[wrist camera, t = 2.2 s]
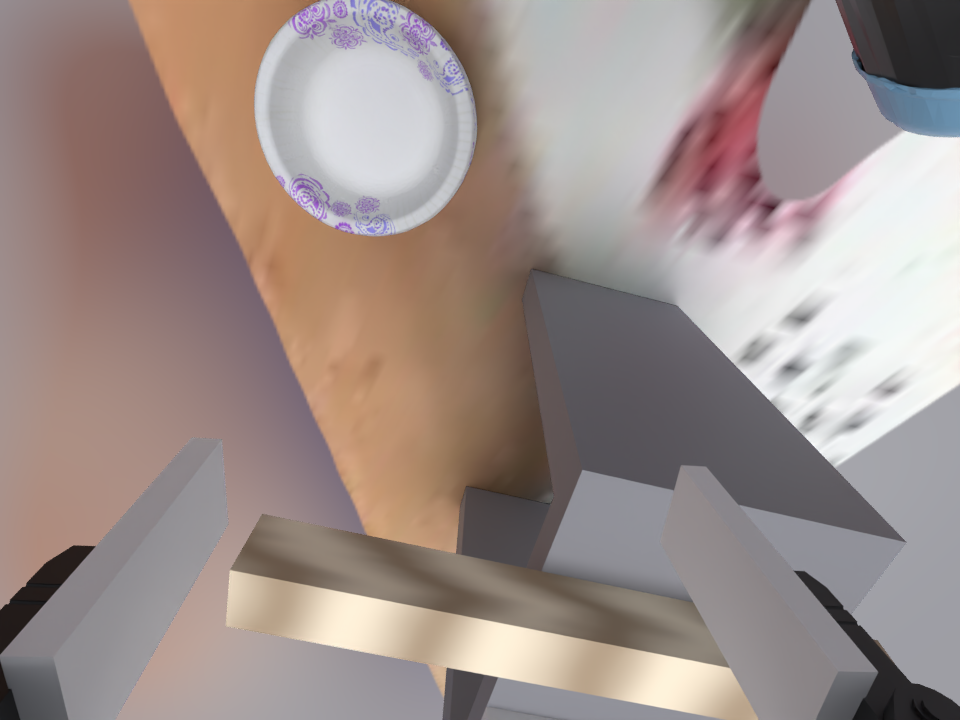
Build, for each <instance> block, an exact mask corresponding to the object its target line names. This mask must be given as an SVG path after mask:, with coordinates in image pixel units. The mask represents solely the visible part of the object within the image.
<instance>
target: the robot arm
mask: <svg viewBox="0 0 960 720" xmlns="http://www.w3.org/2000/svg"><path fill="white" fill-rule="evenodd" d="M836 3H837V5H838V8H839V11H840V13H841V16H842V18H843V21H844V24H845V27H846V29H847V32H848V35H849V37H850V40H851V43H852V45H853V48H854V49H853V52H852V59H853V62H854V65H855V68H856V70H857V71H858V72H859V74H861V75H862V77H863V78H864V79H865V80H866V81H867V83H868V86H869V88H870V90H871V92H872V94H873V97H874V99H875V101H876V104H877V106H878V108H879V110H880V112H881V113H882V115H883V116H884V117H885V118H886V119H887V120H889V121H891V122H893V123H894V124H895V125H896V126H897V127H901V128H902V129H903V130H905V131H908V132H911V133H915V134H920V135H926V136H934V137H960V0H836ZM227 526H228V512H227V499H226V486H225V473H224V461H223V447H222V439H207V438H191V439H190V440H189V442H188V443H187V444H186V445H185V446H184V447H183V448H182V449H181V451H180V452H179V453H178V454H177V455H176V456H175V457H174V459H173V460H172V461H171V462H170V463H169V464H168V465H167V467H166V468H165V469H164V470H163V471H162V472H161V473H160V475H159V476H158V477H157V478H156V479H155V480H154V481H153V482H152V484H151V485H150V486H149V487H148V488H147V489H146V490H145V492H143V494H142V495H141V496H140V497H139V498H138V499H137V500H136V502H135V503H134V504H133V505H132V506H131V507H130V508H129V509H128V511H127V512H126V513H125V514H124V515H123V516H122V517H121V519H120V520H119V521H118V522H117V523H116V524H115V525H114V526H113V528H112V529H111V530H110V531H109V532H108V533H107V534H106V536H105V537H104V538H103V539H102V540H101V541H100V542H99V544H98V545H97V546H72V547H70V548H69V549H67V550H66V551H64V552H62V553H61V554H59V555H58V556H56V557H54V558H53V559H51V560H50V561H48V562H46V564H44V565H43V567H42V568H41V569H40V570H39V571H38V572H37V573H36V574H35V575H34V576H33V577H32V578H31V579H30V580H29V581H28V582H27V584H26V587H22V588H21V589H20V590H19V591H18V592H17V593H16V594H15V595H14V596H13V597H12V598H11V599H10V603H9V604H6V605H5V606H4V607H3V608H2V609H1V610H0V720H115V719H116V717H117V716H118V714H119V712H120V711H121V709H122V707H123V705H124V704H125V702H126V700H127V698H128V697H129V695H130V693H131V692H132V689H133V688H134V686H135V685H136V683H137V681H138V679H139V678H140V676H141V674H142V672H143V671H144V669H145V667H146V666H147V664H148V662H149V660H150V659H151V657H152V655H153V654H154V652H155V650H156V648H157V647H158V645H159V643H160V641H161V640H162V638H163V636H164V635H165V633H166V631H167V629H168V628H169V626H170V624H171V622H172V621H173V619H174V617H175V615H176V614H177V612H178V610H179V609H180V607H181V605H182V603H183V602H184V600H185V598H186V597H187V595H188V593H189V591H190V590H191V588H192V586H193V584H194V583H195V581H196V579H197V578H198V576H199V574H200V572H201V571H202V569H203V567H204V565H205V563H206V562H207V560H208V559H209V557H210V555H211V553H212V552H213V550H214V548H215V546H216V545H217V543H218V541H219V540H220V538H221V536H222V534H223V533H224V531H225V529H226V527H227ZM660 543H661V545H662V547H663V548H664V550H665V552H666V554H667V556H668V557H669V559H670V561H671V563H672V565H673V566H674V568H675V570H676V572H677V574H678V575H679V577H680V579H681V581H682V582H683V584H684V586H685V588H686V590H687V591H688V593H689V595H690V597H691V599H692V600H693V602H694V604H695V606H696V608H697V609H698V611H699V613H700V615H701V617H702V618H703V620H704V622H705V624H706V626H707V627H708V629H709V631H710V633H711V635H712V636H713V638H714V640H715V642H716V643H717V645H718V647H719V649H720V651H721V652H722V654H723V656H724V658H725V660H726V661H727V663H728V665H729V667H730V669H731V670H732V672H733V674H734V676H735V678H736V679H737V681H738V683H739V685H740V687H741V688H742V690H743V692H744V694H745V696H746V697H747V699H748V701H749V703H750V704H751V706H752V708H753V710H754V712H755V713H756V715H757V717H758V719H759V720H960V706H958V705H957V704H956V703H955V702H953V701H952V700H951V699H949V698H947V697H946V696H944V695H942V694H941V693H939V692H937V691H935V690H933V689H930V688H928V687H925V686H922V685H920V684H913V683H911V682H910V681H909V680H908V679H907V678H906V676H905V675H904V674H903V673H902V672H901V671H900V670H899V669H898V668H897V666H896V665H895V664H894V663H893V662H892V661H891V659H890V658H889V657H888V656H887V655H886V654H885V653H884V652H883V650H882V649H881V648H880V647H879V646H878V645H877V644H876V642H875V641H874V640H873V639H872V638H871V637H870V636H869V635H868V634H867V632H866V631H865V630H864V629H863V628H862V627H861V626H858V625H857V621H856V620H855V619H854V618H853V617H852V615H851V614H850V613H849V612H848V611H847V610H844V608H843V607H844V606H843V605H842V604H841V603H840V602H839V601H838V599H837V598H836V597H835V596H834V595H833V594H832V593H831V592H830V590H829V589H828V588H827V587H826V586H824V585H823V584H821V583H820V582H819V581H817V580H816V579H815V578H813V577H812V576H811V575H809V574H808V573H807V572H805V571H793V570H792V568H791V567H790V566H789V565H788V564H787V562H786V561H785V560H784V559H783V558H782V556H781V555H780V554H779V553H778V552H777V551H776V549H775V548H774V547H773V546H772V545H771V543H770V542H769V541H768V540H767V539H766V537H765V536H764V535H763V534H762V533H761V531H760V530H759V529H758V528H757V527H756V525H755V524H754V523H753V522H752V521H751V520H750V518H749V517H748V516H747V515H746V514H745V512H744V511H743V510H742V509H741V508H740V506H739V505H738V504H737V503H736V502H735V500H734V499H733V498H732V497H731V496H730V494H729V493H728V492H727V491H726V490H725V489H724V487H723V486H722V485H721V484H720V483H719V481H718V480H717V479H716V478H715V477H714V475H713V474H712V473H711V472H710V471H709V469H708V468H707V467H705V466H687V465H681V467H680V471H679V474H678V478H677V482H676V485H675V489H674V493H673V496H672V500H671V504H670V507H669V511H668V515H667V518H666V522H665V525H664V529H663V533H662V536H661V540H660Z"/></svg>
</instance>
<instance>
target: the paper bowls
mask: <svg viewBox="0 0 960 720" xmlns="http://www.w3.org/2000/svg"><path fill="white" fill-rule="evenodd" d="M254 110H255V121H256V128H257V133H258V138H259V141H260V144H261V147H262V150H263V153H264V155H265V157H266V160H267V162H268V164H269V166H270V168H271V170H272V171H273V174H274V175H275V177H276V179H277V180H278V181H279V182H280V184H281V186H282V187H283V188H284V189H285V191H286V192H287V193H288V194H289V196H290V197H291V198H292V199H293V200H294V201H295V202H296V203H297V204H298V205H300V206H301V207H302V208H303V209H304V210H306V211H307V212H308V213H309V214H311V215H312V216H313V217H315V218H316V219H318V220H320V221H321V222H323V223H325V224H327V225H329V226H331V227H333V228H335V229H338V230H341V231H344V232H348V233H351V234H357V235H364V236H387V235H394V234H399V233H403V232H406V231H409V230H411V229H413V228H416V227H417V226H419V225H421V224H423V223H425V222H427V221H428V220H430V219H431V218H433V217H434V216H435V215H436V214H438V213H439V212H440V211H441V210H442V209H443V208H444V207H445V206H446V204H447V203H448V202H449V201H450V200H451V198H452V197H453V196H454V194H455V193H456V192H457V190H458V189H459V187H460V185H461V184H462V182H463V180H464V178H465V176H466V173H467V171H468V169H469V167H470V164H471V161H472V158H473V154H474V150H475V144H476V137H477V115H476V107H475V101H474V97H473V93H472V89H471V85H470V83H469V80H468V77H467V75H466V72H465V70H464V68H463V66H462V64H461V63H460V61H459V59H458V58H457V56H456V54H455V53H454V52H453V50H452V49H451V47H450V46H449V45H448V43H447V42H446V40H445V39H444V38H443V37H442V36H441V35H440V34H439V33H438V32H437V31H436V30H435V28H434V27H432V26H431V25H430V24H429V23H428V22H427V21H425V20H424V19H423V18H421V17H420V16H418V15H417V14H415V13H414V12H412V11H411V10H409V9H408V8H406V7H404V6H402V5H400V4H398V3H395V2H393V1H390V0H320V1H318V2H316V3H314V4H312V5H310V6H308V7H306V8H304V9H303V10H301V11H299V12H298V13H297V14H295V15H294V16H292V17H291V18H290V19H289V20H288V21H287V22H286V23H285V24H284V25H283V26H282V27H281V28H280V29H279V31H278V32H277V33H276V34H275V36H274V37H273V39H272V40H271V42H270V44H269V46H268V48H267V50H266V52H265V54H264V56H263V59H262V62H261V64H260V68H259V72H258V75H257V80H256V86H255V97H254Z"/></svg>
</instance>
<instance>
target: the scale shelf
mask: <svg viewBox="0 0 960 720" xmlns="http://www.w3.org/2000/svg"><path fill="white" fill-rule="evenodd" d="M522 303H523V309H524V315H525V321H526V327H527V333H528V340H529V346H530V352H531V358H532V364H533V371H534V377H535V383H536V389H537V395H538V401H539V408H540V414H541V420H542V426H543V432H544V438H545V445H546V451H547V457H548V463H549V469H550V476H551V482H552V488H553V494H554V497H553V500H552V502H551V505H550V504H546V503H541V502H536V501H532V500H527V499H523V498H518V497H513V496H509V495H504V494H500V493H495V492H490V491H486V490H481V489H476V488H472V487H467V486H466V489H465V492H464V495H463V499H462V502H461V506H460V513H459V525H458V537H457V549H456V554H460V555H465V556H469V557H474V558H479V559H484V560H489V561H494V562H499V563H503V564H508V565H513V566H518V567H523V568H528V569H533V570H537V571H542V572H547V573H552V574H557V575H562V576H567V577H571V578H576V579H581V580H586V581H591V582H596V583H601V584H605V585H610V586H615V587H620V588H625V589H630V590H635V591H640V592H644V593H649V594H654V595H659V596H664V597H669V598H674V599H678V600H683V601H688V602H693V600H692V599H691V597H690V595H689V593H688V591H687V590H686V588H685V586H684V584H683V582H682V581H681V579H680V577H679V575H678V574H677V572H676V570H675V568H674V566H673V565H672V563H671V561H670V559H669V557H668V556H667V554H666V552H665V550H664V548H663V547H662V545H661V543H660V540H661V536H662V533H663V529H664V525H665V522H666V518H667V515H668V511H669V507H670V504H671V500H672V496H673V493H674V489H675V485H676V482H677V478H678V474H679V471H680V467H681V465H687V466H705V467H707V468H708V469H709V471H710V472H711V473H712V474H713V475H714V477H715V478H716V479H717V480H718V481H719V483H720V484H721V485H722V486H723V487H724V489H725V490H726V491H727V492H728V493H729V494H730V496H731V497H732V498H733V499H734V500H735V502H736V503H737V504H738V505H739V506H740V508H741V509H742V510H743V511H744V512H745V514H746V515H747V516H748V517H749V518H750V520H751V521H752V522H753V523H754V524H755V525H756V527H757V528H758V529H759V530H760V531H761V533H762V534H763V535H764V536H765V537H766V539H767V540H768V541H769V542H770V543H771V545H772V546H773V547H774V548H775V549H776V551H777V552H778V553H779V554H780V555H781V556H782V558H783V559H784V560H785V561H786V562H787V564H788V565H789V566H790V567H791V568H792V570H793V571H805V572H807V573H808V574H809V575H811V576H812V577H813V578H815V579H816V580H817V581H819V582H820V583H821V584H823V585H824V586H826V587H827V588H828V589H829V590H830V592H831V593H832V594H833V595H834V596H835V597H836V598H837V599H838V601H839V602H840V603H841V604H842V605H843V606H844V607H843V608H844V610H847V611H848V612H849V613H850V614H852V613H853V611H854V610H855V609H856V608H857V606H858V605H859V604H860V603H861V601H862V600H863V599H864V597H865V596H866V595H867V593H868V592H869V591H870V589H871V588H872V587H873V586H874V584H875V583H876V582H877V580H878V579H879V578H880V577H881V575H882V574H883V573H884V571H885V570H886V569H887V567H888V566H889V565H890V563H891V562H892V561H893V560H894V558H895V557H896V556H897V555H898V553H899V552H900V551H901V549H902V548H903V547H904V545H905V544H906V541H905V540H904V539H903V538H902V537H901V536H900V535H899V534H898V533H897V532H896V531H895V530H894V529H893V528H892V527H891V526H890V525H889V524H888V523H887V522H886V521H885V520H884V519H883V518H882V517H881V515H879V513H878V512H877V511H876V510H875V509H874V508H873V507H872V506H871V505H870V504H869V503H868V502H867V501H866V500H865V499H864V498H863V497H862V496H861V495H860V494H859V493H858V492H857V491H856V490H855V489H854V488H853V487H852V486H851V484H850V483H848V481H847V480H846V479H844V477H843V476H842V475H841V474H840V473H839V472H838V471H837V470H836V469H835V468H834V467H833V466H832V465H831V464H830V463H829V462H828V461H827V460H826V459H825V458H824V457H823V456H822V455H821V454H820V453H819V451H818V450H817V449H816V448H815V447H814V446H813V445H812V444H811V443H810V442H809V441H808V440H807V439H806V438H805V437H804V436H803V435H802V434H801V433H800V432H799V431H798V430H797V429H796V428H795V427H794V426H793V425H792V424H791V423H790V422H789V421H788V420H787V418H786V417H785V416H784V415H783V414H782V413H781V412H780V411H779V410H778V409H777V408H776V407H775V406H774V405H773V404H772V403H771V402H770V401H769V400H768V399H767V398H766V397H765V396H764V395H763V394H762V393H761V392H760V391H759V390H758V389H757V388H756V387H755V385H754V384H753V383H752V382H751V381H750V380H749V379H748V378H747V377H746V376H745V375H744V374H743V373H742V372H741V371H740V370H739V369H738V368H737V367H736V366H735V365H734V364H733V363H732V362H731V361H730V360H729V359H728V358H727V357H726V356H725V355H724V354H723V352H722V351H721V350H720V349H719V348H718V347H717V346H716V345H715V344H714V343H713V342H712V341H711V340H710V339H709V338H708V337H707V336H706V335H705V334H704V333H703V332H702V331H701V330H700V329H699V328H698V327H697V326H696V325H695V324H694V323H693V322H692V321H691V320H690V318H689V317H688V316H687V315H686V314H685V313H684V312H683V311H682V310H681V309H680V308H679V307H678V306H676V305H672V304H668V303H664V302H660V301H656V300H652V299H648V298H644V297H640V296H636V295H633V294H629V293H625V292H621V291H617V290H613V289H609V288H605V287H601V286H597V285H593V284H589V283H585V282H581V281H578V280H574V279H570V278H566V277H562V276H558V275H554V274H550V273H546V272H542V271H538V270H534V269H531V271H530V275H529V278H528V281H527V285H526V288H525V291H524V295H523V298H522ZM693 603H694V602H693ZM443 720H725V719H719V718H714V717H709V716H703V715H698V714H692V713H687V712H682V711H676V710H671V709H666V708H660V707H655V706H650V705H644V704H639V703H634V702H628V701H623V700H618V699H612V698H607V697H602V696H596V695H591V694H586V693H580V692H575V691H570V690H564V689H559V688H554V687H548V686H543V685H538V684H532V683H527V682H522V681H516V680H511V679H505V678H500V677H495V676H489V675H484V674H479V673H473V672H468V671H463V670H457V669H452V668H447V671H446V684H445V696H444V708H443Z"/></svg>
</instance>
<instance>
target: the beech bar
mask: <svg viewBox="0 0 960 720" xmlns="http://www.w3.org/2000/svg"><path fill="white" fill-rule="evenodd" d="M226 626H228V627H233V628H238V629H244V630H249V631H255V632H260V633H265V634H271V635H276V636H281V637H286V638H292V639H298V640H302V641H309V642H313V643H318V644H324V645H329V646H335V647H340V648H346V649H351V650H356V651H362V652H367V653H372V654H377V655H383V656H388V657H394V658H399V659H404V660H409V661H415V662H420V663H425V664H431V665H436V666H441V667H447V668H452V669H457V670H463V671H468V672H473V673H479V674H484V675H489V676H495V677H500V678H505V679H511V680H516V681H522V682H527V683H532V684H538V685H543V686H548V687H554V688H559V689H564V690H570V691H575V692H580V693H586V694H591V695H596V696H602V697H607V698H612V699H618V700H623V701H628V702H634V703H639V704H644V705H650V706H655V707H660V708H666V709H671V710H676V711H682V712H687V713H692V714H698V715H703V716H709V717H714V718H719V719H725V720H759V719H758V717H757V715H756V713H755V712H754V710H753V708H752V706H751V704H750V703H749V701H748V699H747V697H746V696H745V694H744V692H743V690H742V688H741V687H740V685H739V683H738V681H737V679H736V678H735V676H734V674H733V672H732V670H731V669H730V667H729V665H728V663H727V661H726V660H725V658H724V656H723V654H722V652H721V651H720V649H719V647H718V645H717V643H716V642H715V640H714V638H713V636H712V635H711V633H710V631H709V629H708V627H707V626H706V624H705V622H704V620H703V618H702V617H701V615H700V613H699V611H698V609H697V608H696V606H695V604H694V603H693V602H688V601H683V600H678V599H674V598H669V597H664V596H659V595H654V594H649V593H644V592H640V591H635V590H630V589H625V588H620V587H615V586H610V585H605V584H601V583H596V582H591V581H586V580H581V579H576V578H571V577H567V576H562V575H557V574H552V573H547V572H542V571H537V570H533V569H528V568H523V567H518V566H513V565H508V564H503V563H499V562H494V561H489V560H484V559H479V558H474V557H469V556H465V555H460V554H455V553H450V552H445V551H440V550H435V549H431V548H426V547H421V546H416V545H411V544H406V543H401V542H397V541H392V540H387V539H382V538H377V537H372V536H367V535H362V534H358V533H352V532H348V531H343V530H338V529H333V528H328V527H324V526H319V525H313V524H309V523H304V522H299V521H294V520H290V519H285V518H280V517H275V516H270V515H265V514H262V516H261V517H260V519H259V521H258V522H257V524H256V526H255V528H254V529H253V531H252V533H251V535H250V536H249V538H248V540H247V542H246V544H245V545H244V547H243V548H242V550H241V552H240V554H239V555H238V557H237V559H236V561H235V562H234V564H233V566H232V568H231V569H230V578H229V590H228V604H227V617H226ZM874 641H875V642H876V644H877V645H878V646H879V647H880V648H881V649H882V650H883V652H884V653H885V654H886V655H887V656H888V657H889V655H888V654H887V653H886V651H885V650H884V648H883V647H882V646H881V645H880V643H879V642H878V641H877V640H874ZM889 658H890V657H889ZM890 659H891V658H890ZM891 661H892V659H891ZM892 662H893V661H892ZM893 663H894V662H893ZM894 664H895V663H894Z"/></svg>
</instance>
